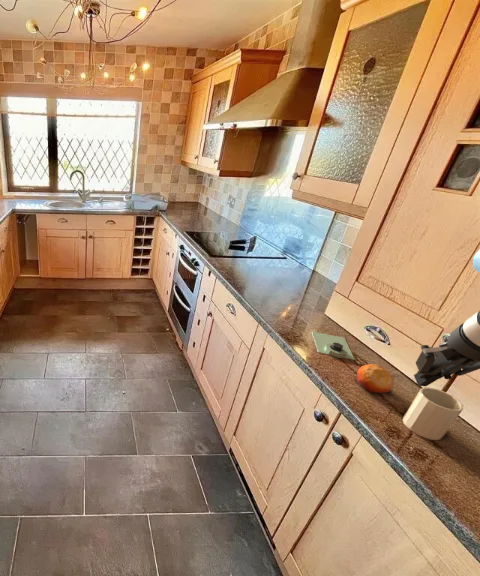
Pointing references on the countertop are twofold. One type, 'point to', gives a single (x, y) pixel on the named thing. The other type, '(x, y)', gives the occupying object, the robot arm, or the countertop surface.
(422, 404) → the cup
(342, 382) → the countertop surface
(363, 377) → the fruit
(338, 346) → the tare button
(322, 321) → the countertop surface
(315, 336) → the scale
